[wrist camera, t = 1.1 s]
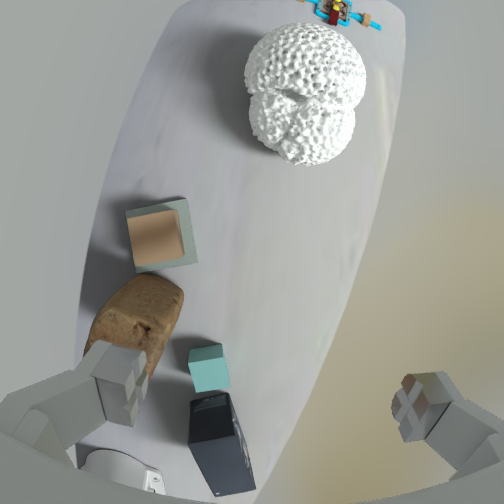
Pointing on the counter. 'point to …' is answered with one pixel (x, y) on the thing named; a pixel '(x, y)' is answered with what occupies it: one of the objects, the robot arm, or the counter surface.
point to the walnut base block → (156, 237)
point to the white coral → (304, 92)
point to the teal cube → (208, 368)
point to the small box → (220, 446)
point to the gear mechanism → (336, 7)
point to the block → (139, 317)
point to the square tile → (186, 233)
